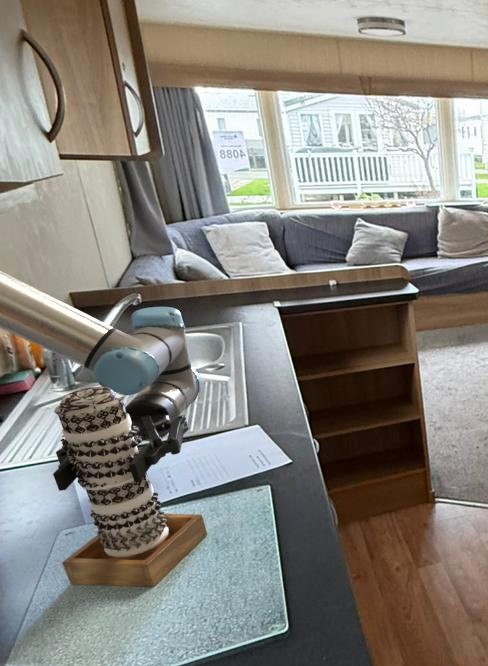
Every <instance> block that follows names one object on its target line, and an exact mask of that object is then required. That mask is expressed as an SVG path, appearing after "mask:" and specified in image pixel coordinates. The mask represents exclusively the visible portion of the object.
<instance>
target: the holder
mask: <svg viewBox="0 0 488 666" xmlns="http://www.w3.org/2000/svg"><path fill="white" fill-rule="evenodd" d="M163 516H164V518H163V519H166V520H167V522H166V523H165V524H167V527H168V529H169V533H168V536H167V537H166V538H165V540H164V541H163V542H161V543H160V544H158V545H157V546H155V547H154V548H151V549H149V550H147V551H145V552H142V553H139V554H135V555H132V556H126V557H113V556H109V555H108V554H107V553H106V552H105V551H104V548H105V547H104V546H103V545H102V544H101V543H100V541H101V538H100V537H99V536H98V535H97V534H96V535H95V536H94V537H93V538H91V539H90V540H89V541H87V542H86V543H85V544H84V545H82V546H81V547H79V549H77V550H76V551H75V552H73V553H72V554H70V555H69V556H68V557H67V558H66V559H64V560H63V561H62V562H61V563H62V566H63V569H64V571H65V574H66V576H67V578H68V582H69V584H70V585H85V586H87V585H88V586H89V585H91V586H121V587H122V586H123V587H151V588H152V587H153V588H154V587H156V585H158V584H159V583H160V581H162V580H163V579H164V578H165V576H167V575H168V574H169V573H170V572H171V571H172V570H173V569H174V568H175V567H176V566H177V565H178V564H179V563H180V562H181V561H182V560H183V559H184V558H185V557H187V555H189V554H190V552H191V551H193V549H195V547H196V546H198V545H199V544H200V543H201V542H202V541H203V540H204V539H205V538H206V537H207V536H208V531H207V528H206V524H205V521H204V517H203V515H202V514H195V513H193V514H191V513H190V514H189V513H164V514H163Z"/></svg>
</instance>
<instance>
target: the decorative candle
mask: <svg viewBox="0 0 488 666" xmlns="http://www.w3.org/2000/svg"><path fill="white" fill-rule="evenodd" d="M124 398H125V395H123V394H121V393H117V392H114V391H113V390H112V389H110V388H108V387H102V386H91V387H86V388H82V389H78V390H75V391H72V392H70V393H68V394H66V395H65V396H64V397H62V399H61V401H60V402H59V405H58V406H56V407H55V408H54V410H53V413H54V414H56V415H57V416H58V419H59V421H60V422H59V423H60V424H61V427H62V430H61V433H62V434H63V435H62V436H61V439H60V440H59V442H61V445H62V446H61V448H62V449H63V450H65V451H66V453H67V454H68V458H69V459H68V461H69V462H70V463H72V466H73V467H72V468H71V470H72V471H73V472H75V474H76V475H77V478H76V479H77V483H78V484H79V486H80V487H81V488H82V489H83V490H85V491H86V494H87V497H88V499H89V500H88V504H89V507H90V509H91V510H90V512H91V513H90V514H89V515H90V517H91V518H93V520H94V522H93V525H94V526H95V527H96V528H97V531H96V536H97V535H98V536H99V537H100V538H101V541H100V543H101V544H102V545H103V546H104V547H105V548H104V551H105V552H106V553H107V554H108V555H109V556H113V557H126V556H132V555H135V554H139V553H142V552H145V551H147V550H149V549H151V548H154V547H155V546H157V545H158V544H160V543H161V542H163V541H164V540H165V538H166V537H167V536H168V533H169V529H168V527H167V524H165V523H166V522H167V520H166V519H163V518H164V516H163V514H165V511H164V510H162V509H161V504H162V502H161V501H160V500H159V493H158V492H157V491H155V490H154V487H153V484H152V482H151V481H150V480H149V476H148V473H147V472H146V473H145V475H144V476H143V477H142V479H141V480H140V481H134V479H133V476H132V473H131V470H130V467H129V464H130V463H131V462H132V460H133V459H134V458H135V457H136V455H137V454H138V453H139V452H140V451H141V449H142V448H143V447H139V445H140V444H141V443H142V442H143V441H142V437H140V436H137V435H136V434H138V433H139V428H138V427H136V426H131V423H132V422H131V419H130V416H129V414H128V413H127V412H126V411H125V407H126V405H125V403H124V402H123V400H124ZM69 443H70V444H69ZM68 445H70V446H71V447H70V448H69V447H68ZM75 459H76V460H75ZM77 467H79V469H78V468H77Z"/></svg>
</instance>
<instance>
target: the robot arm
mask: <svg viewBox="0 0 488 666" xmlns="http://www.w3.org/2000/svg"><path fill="white" fill-rule="evenodd" d="M0 329H1V330H3V331H6V332H8V333H11V334H12V335H14V336H17V337H19V338H21V339H23V340H26V341H28V342H29V343H31V344H34V345H36V346H38V347H40V348H42V349H45V350H47V351H48V352H51V353H53V354H55V355H58V356H60V357H62V358H64V359H66V360H68V361H71V362H73V363H75V364H77V365H79V366H82V367H83V368H85V369H88V370H89V371H91V372H93V376H94V379H95V382H97V383H98V384H99V386H100V387H108V388H110V389H112V390H113V391H114V392H117V393H121V394H123V395H124V396H132V395H135V396H134V397H133V399H132V400H130V402H129V403H127V405H125V411H126V412H127V413H128V414H129V416H130V419H131V422H132V423H131V426H136V427H138V428H139V433H138V434H136V435H137V436H140V437H142V442H148V443H146V444H144V445H143V447H141V448H142V449H141V451H140V452H139V453H138V454H137V455H136V457H135V458H134V459H133V460H132V462H131V463H130V464H129V467H130V470H131V473H132V476H133V479H134V481H140V480H141V479H142V477H143V476H144V475H145V473H147V472H148V471H149V470H150V468H151V467H152V466H154V465H157V464H159V461H160V460H161V459H162V458H165V457H166V454H171V455H178V454H180V453H181V450H182V446H183V440H184V435H185V434H186V433H187V432H188V431H189V430H190V429H189V424H188V422H187V418H186V416H185V414H184V413H185V412H186V411H187V409H188V408H189V407H190V406H191V404H193V403H194V402H195V401H196V399H197V398H198V396H199V394H200V391H201V389H202V386H203V382H202V377H201V375H200V374H199V373H198V372H197V370H196V369H195V368H194V367H192V361H191V357H190V352H189V346H188V340H187V335H186V326H185V323H184V321H183V317H182V313H181V312H180V310H178V309H177V308H175V307H169V306H152V307H145V308H140V309H137V310H136V311H134V312H133V313H132V314H131V329H132V330H133V332H132V333H130V334H128V333H126V332H123V331H122V330H119V329H117V328H115V327H113V326H111V325H109V324H107V323H106V322H104V321H101V320H99V319H97V318H95V317H93V316H92V315H90V314H88V313H85V312H84V311H81V310H79V309H78V308H75V307H74V306H72V305H70V304H67V303H65V302H63V301H61V300H59V299H57V298H55V297H54V296H51V295H50V294H47V293H45V292H43V291H42V290H39V289H37V288H36V287H34V286H31V285H30V284H27V283H26V282H24V281H21V280H19V279H18V278H15V277H13V276H11V275H9V274H7V273H5V272H3V271H1V270H0ZM166 436H167V438H166V441H164V442H163V441H162V439H163V438H165V437H166ZM69 444H70V443H69ZM68 447H69V448H70V447H71V446H70V445H68ZM55 455H56V457H57V460H58V463H59V464H58V466H57V467H58V468H57V469H56V470H55V471H54V472H53V473H52V476H53V478H54V481H55V483H56V486H57V488H58V491H66V490H67V489H68V488H69V487H70V486H71V485H72V484H73V483H74V481H75V480H76V479H78V478H77V475H76V474H75V472H73V471H72V470H71V468H72V467H73V466H72V463H70V462H69V461H68V459H69V458H68V454H67V453H66V451H65V450H63V449H62V447H60V448H59V449H57V451H55ZM75 460H76V459H75ZM77 468H78V469H79V467H77Z"/></svg>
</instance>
